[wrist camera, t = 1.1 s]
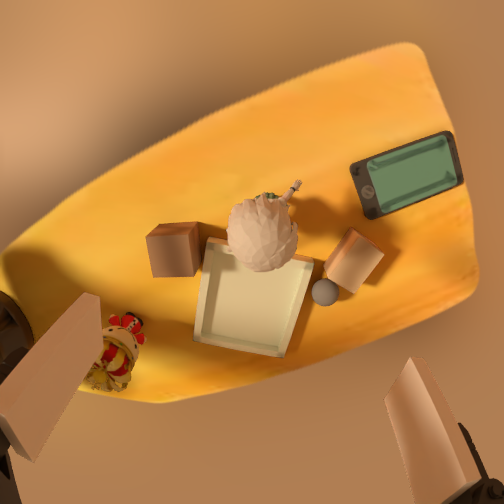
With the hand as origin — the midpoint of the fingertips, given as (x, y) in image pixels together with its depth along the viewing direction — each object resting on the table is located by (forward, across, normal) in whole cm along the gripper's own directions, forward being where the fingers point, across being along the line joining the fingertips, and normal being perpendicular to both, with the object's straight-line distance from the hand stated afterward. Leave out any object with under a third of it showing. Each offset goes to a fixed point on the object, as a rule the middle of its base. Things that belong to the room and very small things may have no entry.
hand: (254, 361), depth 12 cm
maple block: (+27, +12, -4) cm, 30 cm away
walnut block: (+27, -9, -7) cm, 29 cm away
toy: (+27, -15, -21) cm, 37 cm away
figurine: (+27, 0, 0) cm, 27 cm away
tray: (+27, +1, -13) cm, 30 cm away
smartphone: (+27, +17, +8) cm, 33 cm away
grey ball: (+27, +10, -9) cm, 30 cm away
